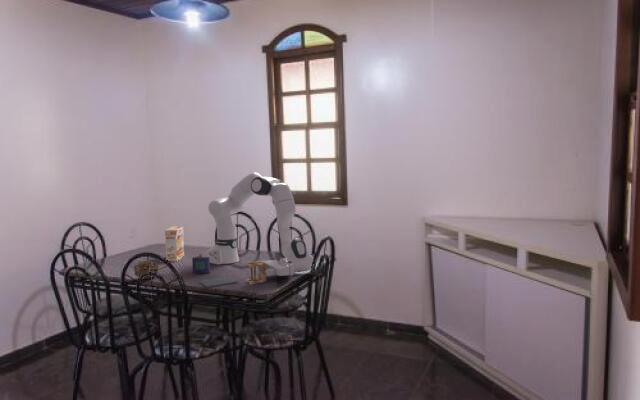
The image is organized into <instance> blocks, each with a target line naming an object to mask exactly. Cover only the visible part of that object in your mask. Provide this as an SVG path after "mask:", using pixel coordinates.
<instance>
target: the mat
mask: <svg viewBox="0 0 640 400" xmlns="http://www.w3.org/2000/svg"><path fill="white" fill-rule="evenodd" d="M199 283H200V284H201V285H202V286H204V287H205V288H206V289H207V288H215V287H218V286H219V287H221V286H225V285H227V286H228V285H233V284H237V283H238V280H236V279H235V278H233V277H231V276H222V277H217V278H210V279H203V280H199Z"/></svg>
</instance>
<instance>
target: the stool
mask: <svg viewBox="0 0 640 400" xmlns="http://www.w3.org/2000/svg"><path fill="white" fill-rule="evenodd" d="M264 261H265V260H256V261H248V262H245V266H246V267H247V266H248V268H250V278H247V279H245V283H248V284H249V285H254V284H255V285H256V284H262V283H266V282H267V273H265V270H266V262H264ZM257 266H258V269H257ZM257 270H258V271H257ZM257 275H258V277H257Z"/></svg>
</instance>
